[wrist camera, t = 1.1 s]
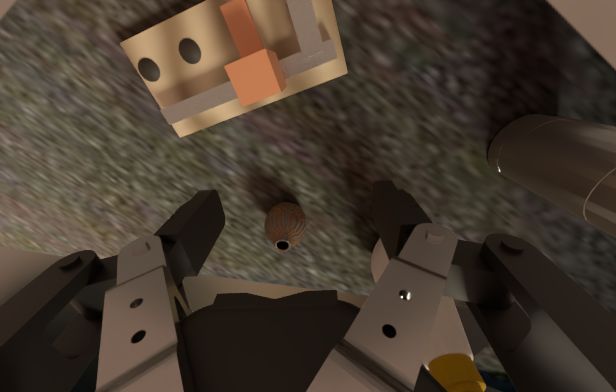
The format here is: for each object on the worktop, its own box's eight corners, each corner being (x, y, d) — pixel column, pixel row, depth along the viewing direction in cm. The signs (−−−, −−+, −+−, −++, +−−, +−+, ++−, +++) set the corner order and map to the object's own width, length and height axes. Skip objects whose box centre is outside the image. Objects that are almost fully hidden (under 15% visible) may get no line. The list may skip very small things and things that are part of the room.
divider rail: (316, -21, 24) (317, -32, 21) (335, 58, 27) (338, 57, 25) (140, 62, 28) (121, 61, 25) (177, 121, 31) (164, 127, 28)
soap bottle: (384, 203, 39) (517, 447, 14) (430, 223, 41) (616, 466, 16) (347, 252, 45) (394, 485, 20) (389, 267, 47) (479, 495, 22)
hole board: (318, -51, 23) (318, -56, 22) (346, 72, 29) (347, 73, 28) (126, 44, 28) (119, 43, 27) (183, 135, 33) (179, 137, 32)
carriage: (260, 4, 24) (238, -24, 17) (288, 85, 28) (281, 92, 21) (228, 19, 25) (192, -1, 17) (260, 96, 29) (242, 106, 21)
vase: (285, 188, 38) (279, 219, 30) (314, 211, 40) (315, 245, 33) (260, 212, 40) (249, 246, 33) (289, 233, 43) (285, 269, 35)
